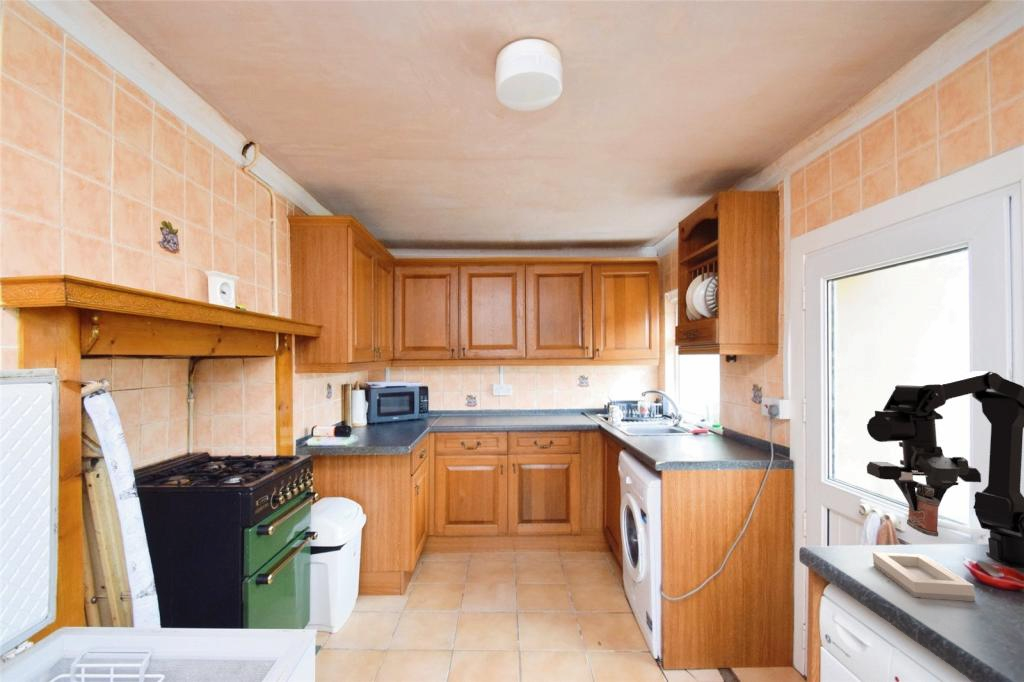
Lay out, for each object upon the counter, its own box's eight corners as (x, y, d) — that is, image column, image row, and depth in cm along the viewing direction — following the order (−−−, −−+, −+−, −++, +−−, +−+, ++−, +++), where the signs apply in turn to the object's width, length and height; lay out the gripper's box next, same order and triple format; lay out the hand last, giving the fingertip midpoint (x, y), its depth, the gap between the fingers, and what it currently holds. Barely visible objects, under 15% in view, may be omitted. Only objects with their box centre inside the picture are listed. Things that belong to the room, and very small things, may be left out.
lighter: (943, 537, 94) (945, 490, 94) (923, 534, 95) (925, 487, 95) (920, 524, 102) (922, 481, 102) (902, 522, 103) (904, 478, 103)
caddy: (924, 568, 100) (923, 554, 100) (975, 601, 86) (973, 585, 86) (873, 565, 102) (872, 552, 102) (915, 597, 88) (913, 581, 88)
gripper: (892, 445, 93) (897, 521, 93) (1000, 447, 89) (1006, 526, 88) (863, 436, 104) (867, 504, 103) (958, 438, 100) (963, 508, 99)
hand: (924, 510), depth 98 cm, fingers closed on lighter, 3 cm apart
